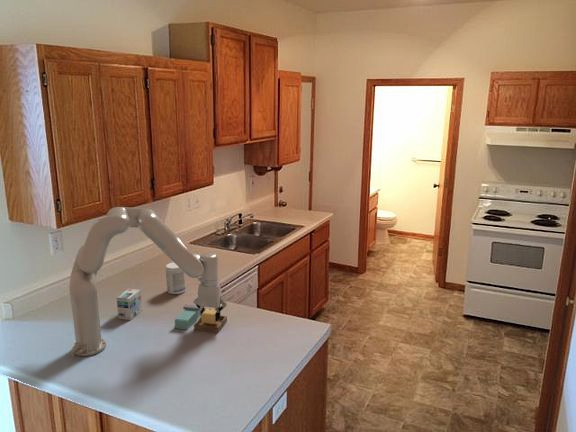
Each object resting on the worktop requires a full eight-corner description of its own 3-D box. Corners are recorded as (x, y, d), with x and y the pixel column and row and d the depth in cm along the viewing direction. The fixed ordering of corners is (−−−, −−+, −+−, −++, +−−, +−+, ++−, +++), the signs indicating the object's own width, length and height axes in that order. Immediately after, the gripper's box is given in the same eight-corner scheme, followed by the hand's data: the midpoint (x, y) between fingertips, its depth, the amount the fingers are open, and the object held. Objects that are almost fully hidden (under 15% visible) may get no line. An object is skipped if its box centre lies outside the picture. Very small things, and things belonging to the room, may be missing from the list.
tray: (218, 332, 201) (218, 327, 201) (194, 329, 204) (194, 324, 203) (226, 321, 212) (226, 316, 211) (204, 318, 214) (203, 313, 214)
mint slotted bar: (189, 329, 204) (188, 319, 202) (173, 327, 205) (172, 317, 204) (203, 313, 219) (203, 303, 217) (188, 312, 220) (188, 301, 219)
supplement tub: (188, 288, 247) (187, 262, 244) (181, 295, 238) (180, 268, 234) (171, 286, 249) (170, 261, 245) (163, 294, 240) (162, 267, 236)
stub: (214, 324, 204) (213, 315, 202) (201, 322, 205) (201, 313, 204) (219, 318, 209) (219, 309, 208) (207, 316, 211) (206, 308, 210)
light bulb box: (131, 320, 211) (129, 298, 209) (117, 319, 213) (115, 297, 210) (142, 310, 221) (141, 289, 219) (129, 308, 223) (128, 288, 220)
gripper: (187, 282, 201) (189, 320, 205) (225, 286, 197) (226, 324, 202) (194, 276, 208) (195, 312, 212) (231, 280, 204) (231, 317, 209)
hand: (210, 318), depth 207 cm, fingers closed on stub, 6 cm apart
